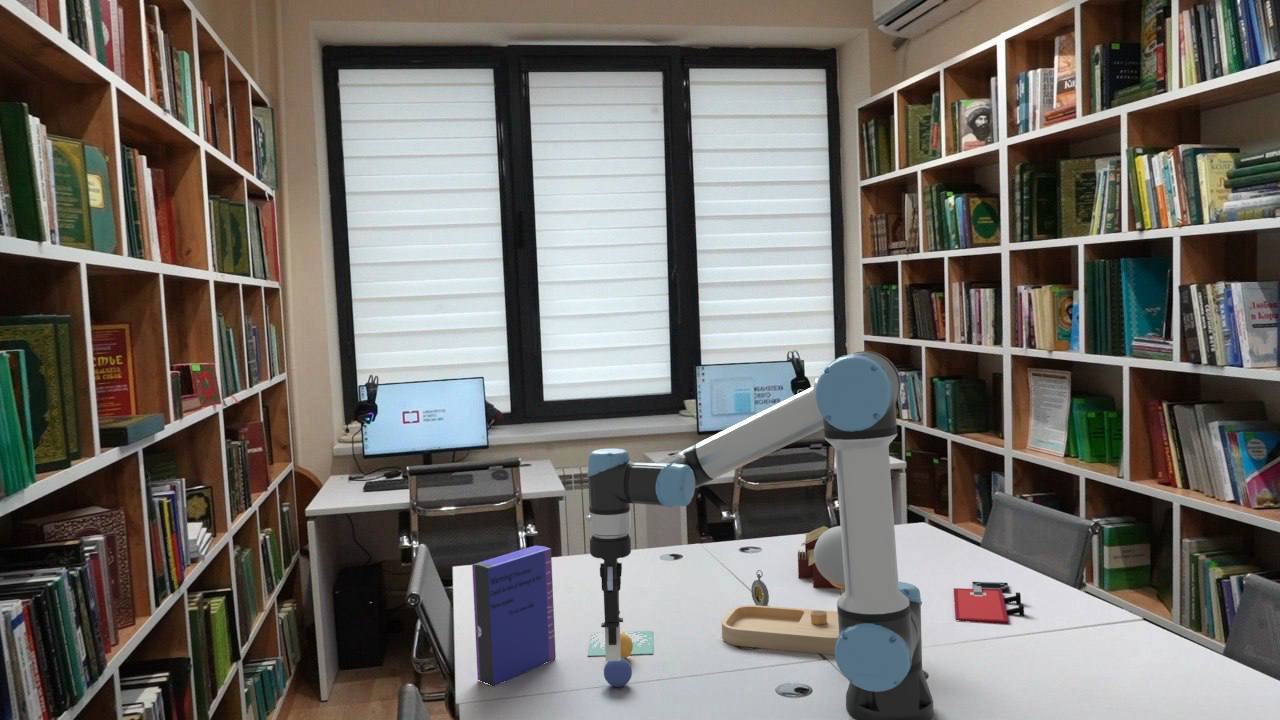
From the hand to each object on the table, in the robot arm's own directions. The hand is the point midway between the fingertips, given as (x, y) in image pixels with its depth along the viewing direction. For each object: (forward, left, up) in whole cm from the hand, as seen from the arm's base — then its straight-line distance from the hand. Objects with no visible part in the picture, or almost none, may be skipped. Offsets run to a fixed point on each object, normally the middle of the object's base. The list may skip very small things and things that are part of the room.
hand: (613, 659), depth 171 cm
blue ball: (+9, 0, -6) cm, 11 cm away
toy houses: (+78, -58, -10) cm, 98 cm away
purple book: (+19, +21, -9) cm, 30 cm away
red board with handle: (+52, -88, -10) cm, 103 cm away
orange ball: (+23, 0, -6) cm, 24 cm away
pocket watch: (+50, -31, -9) cm, 59 cm away
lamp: (+33, -40, -9) cm, 52 cm away
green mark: (+32, 0, -9) cm, 34 cm away
